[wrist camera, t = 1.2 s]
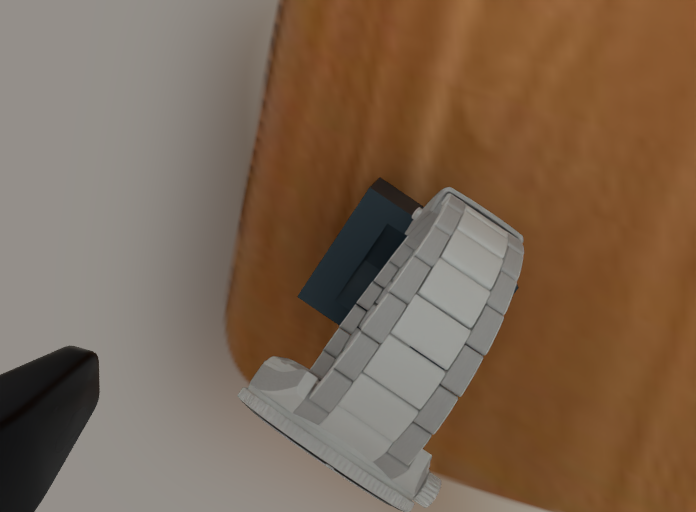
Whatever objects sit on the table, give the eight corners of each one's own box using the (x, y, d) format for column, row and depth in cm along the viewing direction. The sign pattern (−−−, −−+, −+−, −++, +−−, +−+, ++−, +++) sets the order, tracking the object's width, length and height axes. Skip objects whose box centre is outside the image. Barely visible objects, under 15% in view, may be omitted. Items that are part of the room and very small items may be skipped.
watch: (289, 313, 23) (160, 477, 13) (408, 135, 21) (372, 154, 10) (410, 395, 23) (382, 627, 13) (541, 225, 21) (639, 334, 10)
